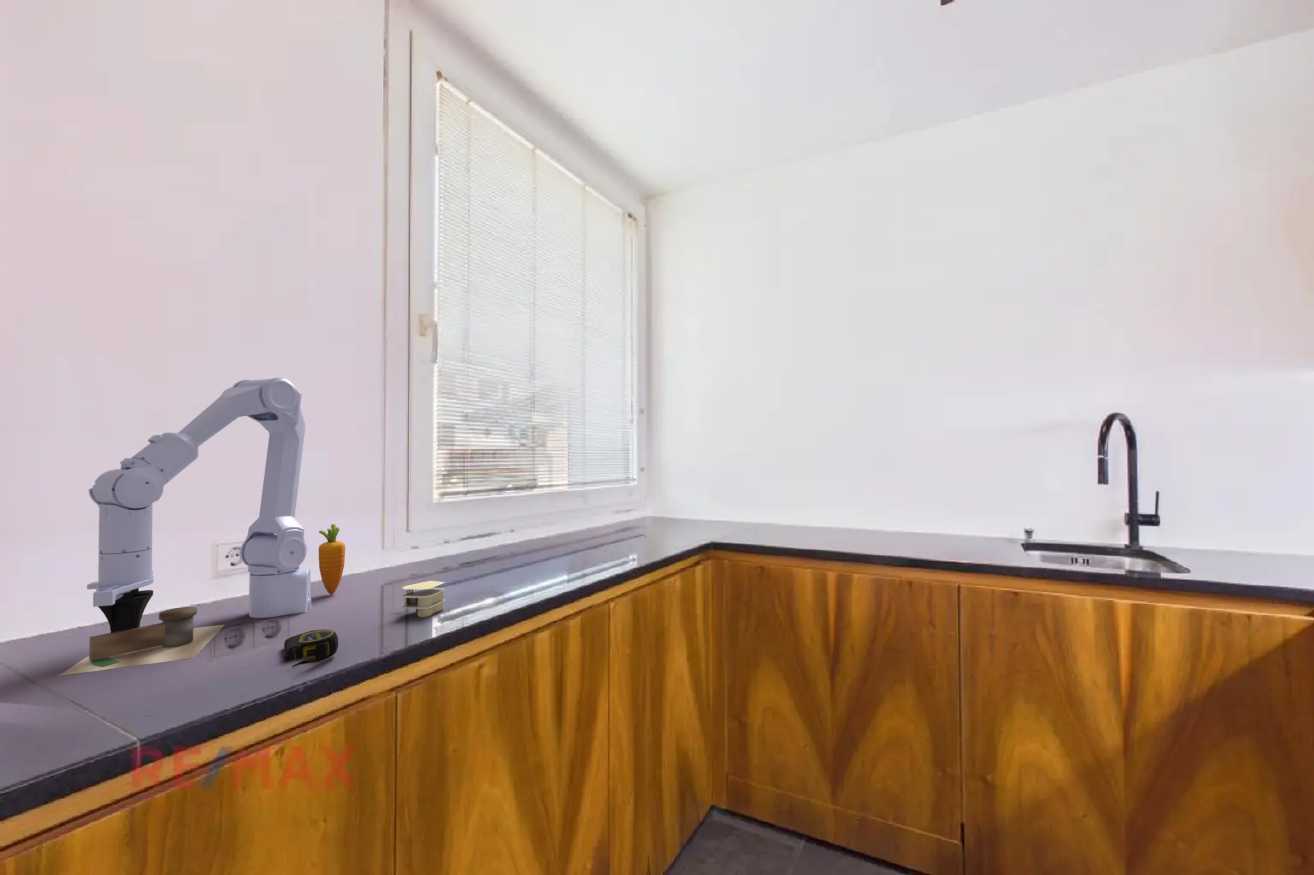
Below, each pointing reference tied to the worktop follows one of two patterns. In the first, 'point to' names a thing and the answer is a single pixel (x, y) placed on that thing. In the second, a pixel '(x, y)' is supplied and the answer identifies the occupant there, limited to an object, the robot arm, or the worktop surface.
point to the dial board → (149, 654)
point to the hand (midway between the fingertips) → (124, 643)
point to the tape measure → (311, 646)
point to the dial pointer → (146, 635)
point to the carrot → (331, 559)
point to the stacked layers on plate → (424, 598)
